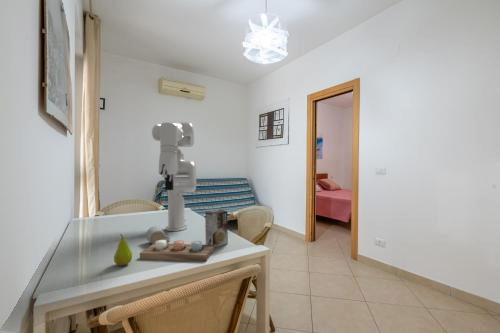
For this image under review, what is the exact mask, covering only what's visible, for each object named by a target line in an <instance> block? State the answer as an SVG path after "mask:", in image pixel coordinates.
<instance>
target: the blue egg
mask: <svg viewBox="0 0 500 333" xmlns="http://www.w3.org/2000/svg"><path fill="white" fill-rule="evenodd" d="M190 244H191V251H192V252H201V251H202V245H203V241H201V240H193V241H192V242H191V243H190Z"/></svg>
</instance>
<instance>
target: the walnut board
mask: <svg viewBox="0 0 500 333" xmlns="http://www.w3.org/2000/svg"><path fill="white" fill-rule="evenodd" d="M214 251H215V248H214V245H206V244H202V251H201V252H192V251H191V243H189V244H188V243H184V250H183V251H173V243H169V242H166V249H165V250H156V249H155V243H154V244H151V245H150V246H148V247H146V248H145V249H143V250H142V251H141V252H139V260H163V261H185V262H186V261H187V262H207V261H208V260H207V259H209V258H210V257H211V255H212V254H213V253H214Z"/></svg>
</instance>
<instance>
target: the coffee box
mask: <svg viewBox="0 0 500 333" xmlns="http://www.w3.org/2000/svg"><path fill="white" fill-rule="evenodd" d="M204 213H205V216H204V218H205V223H204V224H205V231H204V232H205V245H214V249H215V248H218V247H220V246H221V247H222V246H225V245H227V244H228V243H229V239H228V238H229V235H228V233H229V232H228V223H229V222H228V210H224V209H213V210H209V211H205V212H204Z"/></svg>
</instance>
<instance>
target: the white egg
mask: <svg viewBox="0 0 500 333" xmlns="http://www.w3.org/2000/svg"><path fill="white" fill-rule="evenodd" d="M166 243H167V241H166V240H158V241H156V242H155V249H156V250H165V249H166Z"/></svg>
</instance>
